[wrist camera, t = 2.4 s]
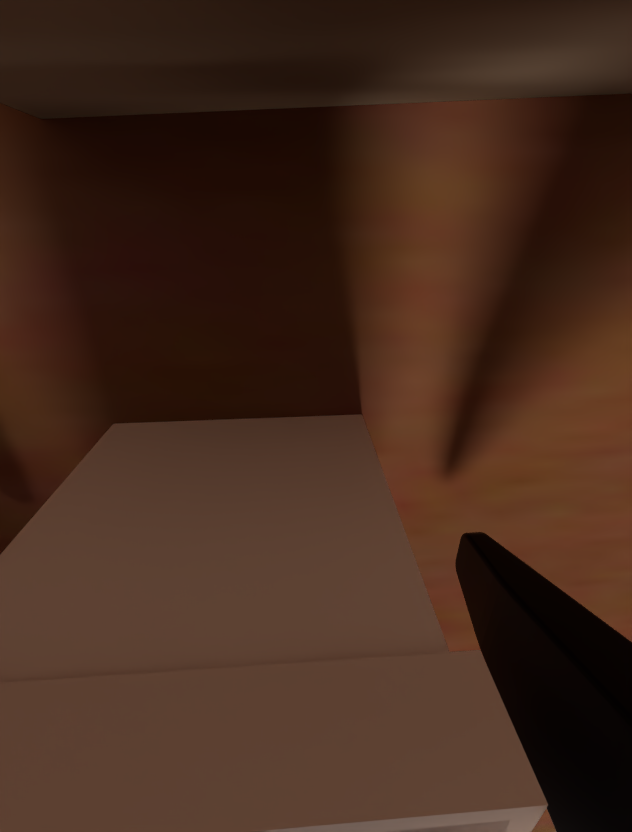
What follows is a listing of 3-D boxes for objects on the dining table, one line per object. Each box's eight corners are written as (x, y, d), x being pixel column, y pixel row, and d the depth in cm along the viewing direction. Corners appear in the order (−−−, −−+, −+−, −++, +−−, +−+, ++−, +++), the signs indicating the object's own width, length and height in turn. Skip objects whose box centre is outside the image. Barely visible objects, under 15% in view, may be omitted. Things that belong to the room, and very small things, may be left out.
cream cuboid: (371, 405, 8) (547, 805, 2) (360, 585, 10) (435, 978, 5) (101, 413, 8) (-357, 886, 2) (156, 596, 10) (4, 1026, 5)
